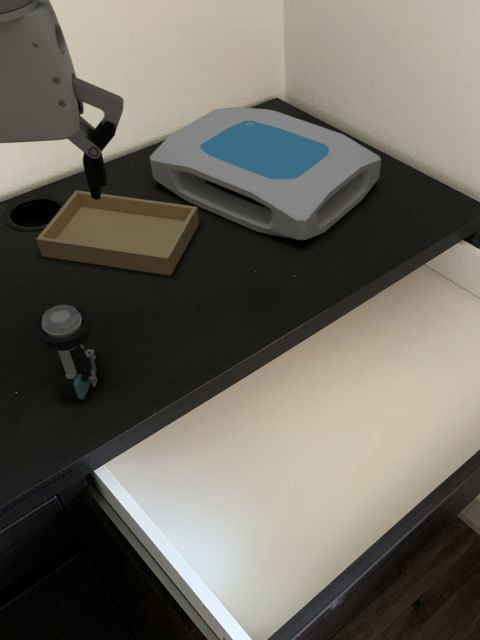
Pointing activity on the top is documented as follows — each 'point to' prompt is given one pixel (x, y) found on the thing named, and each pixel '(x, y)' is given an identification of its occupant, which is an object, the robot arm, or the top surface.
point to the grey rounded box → (267, 170)
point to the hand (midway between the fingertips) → (44, 195)
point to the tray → (120, 232)
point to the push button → (69, 347)
